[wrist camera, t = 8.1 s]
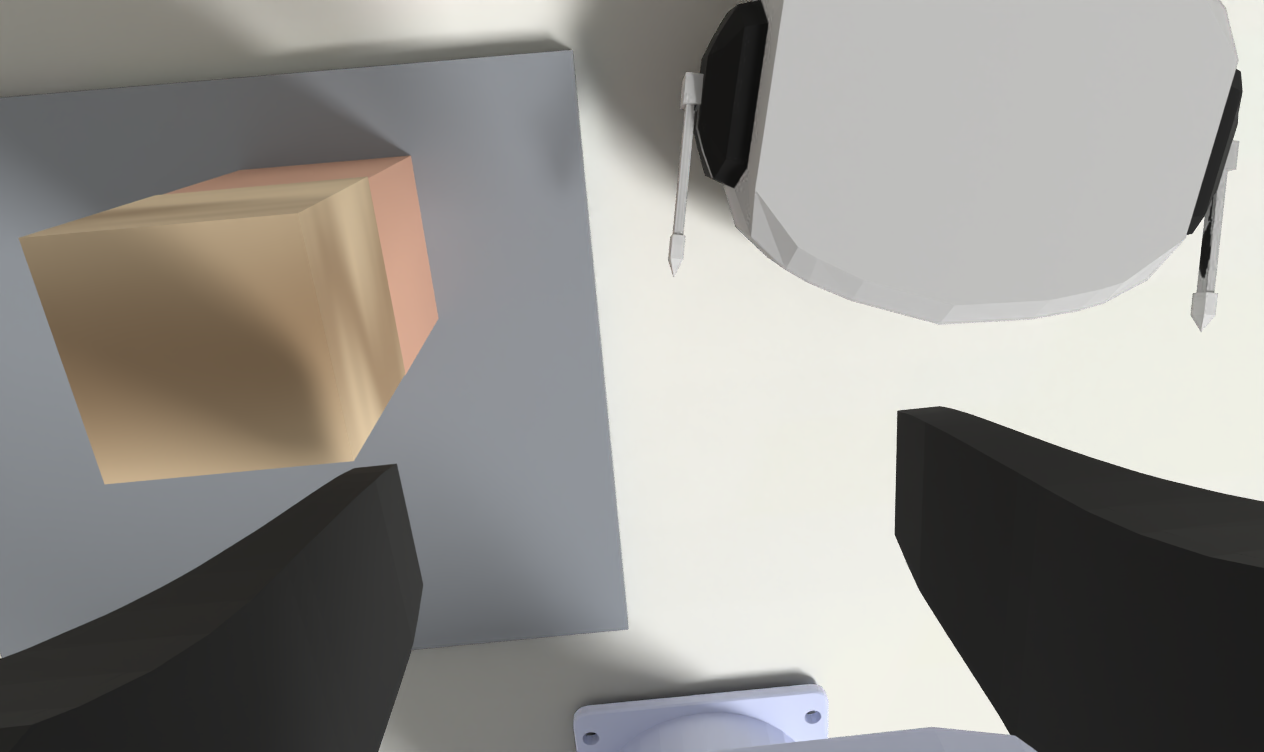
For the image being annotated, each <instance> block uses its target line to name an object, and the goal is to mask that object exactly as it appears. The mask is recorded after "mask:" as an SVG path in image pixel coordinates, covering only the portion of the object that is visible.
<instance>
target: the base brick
mask: <svg viewBox="0 0 1264 752" xmlns="http://www.w3.org/2000/svg"><path fill="white" fill-rule="evenodd" d="M357 177H368V181H369V186H370V191H371V196H372V202H373V207H374V212H375V217H376V223H377V228H378V233H379V238H380V243H381V249H382V254H383V259H384V264H385V270H386V275H387V280H388V285H389V290H390V296H391V301H392V306H393V311H394V316H395V322H396V327H397V332H398V337H399V343H400V348H401V353H402V358H403V363H404V369H405V375H406V373H407V372H408V370H409V368H410V366H411V365H412V363H413V361H414V360H415V358H416V356H417V354H418V353H419V351H420V349H421V348H422V346H423V344H424V343H425V341H426V339H427V337H428V336H429V334H430V332H431V331H432V329H433V327H434V325H435V324H436V322H437V320H438V319H439V318H438V312H437V307H436V301H435V295H434V289H433V283H432V277H431V271H430V265H429V259H428V254H427V248H426V242H425V236H424V230H423V224H422V218H421V212H420V206H419V200H418V195H417V189H416V183H415V177H414V171H413V165H412V159H411V156H399V157H388V158H376V159H364V160H353V161H341V162H329V163H317V164H306V165H294V166H282V167H271V168H259V169H247V170H238V171H235V172H232V173H229V174H226V175H223V176H219V177H216V178H213V179H210V180H207V181H204V182H200V183H197V184H194V185H191V186H188V187H185V188H181V189H178V190H175V191H172V192H169V193H166V194H175V193H186V192H198V191H209V190H220V189H232V188H243V187H255V186H266V185H277V184H289V183H300V182H311V181H323V180H334V179H345V178H357ZM162 195H164V194H162Z"/></svg>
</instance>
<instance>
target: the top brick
mask: <svg viewBox="0 0 1264 752" xmlns="http://www.w3.org/2000/svg"><path fill="white" fill-rule="evenodd" d="M19 241H20V244H21V247H22V250H23V253H24V255H25V258H26V261H27V264H28V267H29V270H30V273H31V275H32V278H33V281H34V284H35V287H36V290H37V293H38V295H39V298H40V301H41V304H42V307H43V310H44V313H45V315H46V318H47V321H48V324H49V327H50V330H51V333H52V335H53V338H54V341H55V344H56V347H57V350H58V353H59V355H60V358H61V361H62V364H63V367H64V370H65V373H66V375H67V378H68V381H69V384H70V387H71V390H72V393H73V395H74V398H75V401H76V404H77V407H78V410H79V413H80V415H81V418H82V421H83V424H84V427H85V430H86V433H87V435H88V438H89V441H90V444H91V447H92V450H93V453H94V455H95V458H96V461H97V464H98V467H99V470H100V473H101V475H102V478H103V481H104V484H114V483H125V482H135V481H146V480H157V479H168V478H178V477H189V476H200V475H211V474H221V473H232V472H243V471H253V470H264V469H275V468H286V467H296V466H307V465H318V464H328V463H339V462H350V461H354V460H355V458H356V457H357V455H358V453H359V452H360V450H361V448H362V446H363V445H364V443H365V441H366V440H367V438H368V436H369V435H370V433H371V431H372V429H373V428H374V426H375V424H376V423H377V421H378V419H379V418H380V416H381V414H382V412H383V411H384V409H385V407H386V406H387V404H388V402H389V401H390V399H391V397H392V395H393V394H394V392H395V390H396V389H397V387H398V385H399V384H400V382H401V380H402V378H403V377H404V375H405V369H404V363H403V358H402V353H401V348H400V343H399V337H398V332H397V327H396V322H395V316H394V311H393V306H392V301H391V296H390V290H389V285H388V280H387V275H386V270H385V264H384V259H383V254H382V249H381V243H380V238H379V233H378V228H377V223H376V217H375V212H374V207H373V202H372V196H371V191H370V186H369V181H368V177H357V178H345V179H334V180H323V181H311V182H300V183H289V184H277V185H266V186H255V187H243V188H232V189H220V190H209V191H198V192H186V193H175V194H164V195H154V196H151V197H148V198H145V199H142V200H138V201H135V202H132V203H129V204H126V205H122V206H119V207H116V208H113V209H110V210H106V211H103V212H100V213H97V214H93V215H90V216H87V217H84V218H81V219H77V220H74V221H71V222H68V223H65V224H61V225H58V226H55V227H52V228H49V229H45V230H42V231H39V232H36V233H33V234H29V235H26V236H23V237H20V238H19Z"/></svg>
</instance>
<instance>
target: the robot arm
mask: <svg viewBox="0 0 1264 752" xmlns="http://www.w3.org/2000/svg"><path fill="white" fill-rule="evenodd" d="M895 536H896V539H897V541H898V543H899V546H900V548H901V550H902V553H903V555H904V557H905V560H906V562H907V565H908V567H909V569H910V571H911V573H912V575H913V578H914V580H915V582H916V584H917V586H918V588H919V590H920V592H921V594H922V595H923V597H924V599H925V600H926V602H927V603H928V605H929V607H930V608H931V610H932V611H933V613H934V615H935V616H936V618H937V619H938V621H939V623H940V624H941V626H942V627H943V629H944V630H945V632H946V634H947V635H948V637H949V638H950V640H951V641H952V643H953V644H954V646H955V648H956V649H957V651H958V652H959V654H960V655H961V657H962V658H963V660H964V662H965V663H966V665H967V666H968V668H969V669H970V671H971V672H972V674H973V676H974V677H975V679H976V680H977V682H978V683H979V685H980V686H981V688H982V690H983V691H984V693H985V694H986V696H987V697H988V699H989V700H990V702H991V704H992V705H993V707H994V708H995V710H996V711H997V713H998V714H999V716H1000V718H1001V720H1002V721H1003V723H1004V725H1005V726H1006V728H1007V730H1008V732H1009V733H1010V735H1005V734H995V733H985V732H975V731H966V730H956V729H946V728H936V727H928V728H918V729H909V730H899V731H890V732H881V733H872V734H863V735H854V736H845V737H836V738H828V698H827V695H826V693H825V690H824V689H823V688H822V687H821V686H819V685H816V684H805V685H795V686H784V687H774V688H764V689H753V690H743V691H732V692H722V693H712V694H701V695H691V696H681V697H670V698H660V699H650V700H639V701H629V702H619V703H608V704H598V705H588V706H584V707H581V708H580V709H578V710H577V711H576V713H575V714H574V721H573V728H574V735H575V743H576V750H577V752H1264V502H1263V501H1257V500H1252V499H1247V498H1242V497H1237V496H1232V495H1228V494H1223V493H1218V492H1214V491H1210V490H1206V489H1202V488H1198V487H1193V486H1189V485H1185V484H1181V483H1177V482H1173V481H1169V480H1164V479H1161V478H1157V477H1153V476H1150V475H1146V474H1143V473H1139V472H1136V471H1132V470H1129V469H1126V468H1123V467H1120V466H1116V465H1113V464H1110V463H1107V462H1104V461H1101V460H1097V459H1094V458H1091V457H1088V456H1085V455H1082V454H1079V453H1076V452H1073V451H1071V450H1068V449H1065V448H1062V447H1059V446H1056V445H1054V444H1051V443H1048V442H1045V441H1043V440H1040V439H1037V438H1034V437H1032V436H1029V435H1026V434H1024V433H1021V432H1018V431H1015V430H1013V429H1010V428H1007V427H1005V426H1002V425H999V424H997V423H994V422H991V421H988V420H986V419H983V418H980V417H977V416H974V415H971V414H968V413H965V412H962V411H958V410H955V409H951V408H946V407H941V406H938V407H928V408H919V409H909V410H900V411H897V455H896V499H895ZM422 590H423V581H422V576H421V571H420V567H419V562H418V558H417V553H416V549H415V544H414V539H413V535H412V530H411V526H410V521H409V516H408V512H407V507H406V503H405V498H404V494H403V489H402V484H401V480H400V475H399V471H398V466H397V464H388V465H378V466H369V467H359V468H353V469H351V470H349V471H347V472H345V473H343V474H341V475H339V476H338V477H336V478H334V479H333V480H331V481H330V482H328V483H326V484H325V485H323V486H322V487H320V488H319V489H317V490H316V491H314V492H313V493H311V494H310V495H308V496H307V497H305V498H304V499H302V500H301V501H299V502H298V503H296V504H295V505H293V506H292V507H290V508H289V509H287V510H286V511H284V512H283V513H281V514H280V515H279V516H277V517H276V518H274V519H273V520H271V521H270V522H268V523H267V524H265V525H264V526H262V527H261V528H259V529H258V530H256V531H255V532H253V533H251V534H250V535H248V536H246V537H245V538H243V539H242V540H240V541H238V542H237V543H235V544H234V545H232V546H230V547H229V548H227V549H226V550H224V551H222V552H221V553H219V554H218V555H216V556H214V557H213V558H211V559H209V560H208V561H206V562H205V563H203V564H201V565H200V566H198V567H196V568H195V569H193V570H191V571H189V572H188V573H186V574H184V575H182V576H181V577H179V578H177V579H175V580H173V581H171V582H170V583H168V584H166V585H164V586H162V587H160V588H158V589H156V590H155V591H153V592H151V593H149V594H147V595H145V596H143V597H141V598H139V599H137V600H135V601H133V602H131V603H129V604H127V605H125V606H123V607H121V608H119V609H117V610H115V611H113V612H110V613H108V614H106V615H104V616H102V617H99V618H97V619H95V620H92V621H90V622H88V623H85V624H83V625H81V626H78V627H76V628H74V629H71V630H69V631H67V632H65V633H62V634H60V635H58V636H55V637H53V638H51V639H48V640H46V641H44V642H41V643H39V644H37V645H34V646H32V647H30V648H27V649H25V650H22V651H20V652H17V653H15V654H12V655H9V656H7V657H4V658H1V659H0V752H378V750H379V747H380V744H381V741H382V738H383V735H384V732H385V729H386V726H387V723H388V720H389V718H390V715H391V712H392V709H393V706H394V703H395V700H396V697H397V694H398V691H399V687H400V684H401V681H402V678H403V675H404V672H405V669H406V666H407V663H408V660H409V656H410V653H411V650H412V647H413V643H414V638H415V632H416V627H417V622H418V616H419V610H420V603H421V597H422ZM813 710H814V711H816V712H815V713H813V714H807V713H808V712H810V711H813ZM589 732H594V733H596V735H592V736H590V735H586V733H589Z"/></svg>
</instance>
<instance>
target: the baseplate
mask: <svg viewBox="0 0 1264 752" xmlns="http://www.w3.org/2000/svg"><path fill="white" fill-rule="evenodd" d="M399 156H411V159H412V165H413V171H414V177H415V183H416V189H417V195H418V200H419V206H420V212H421V218H422V224H423V230H424V236H425V242H426V248H427V254H428V259H429V265H430V271H431V277H432V283H433V289H434V295H435V301H436V307H437V312H438V318H439V319H438V320H437V322H436V324H435V325H434V327H433V329H432V331H431V332H430V334H429V336H428V337H427V339H426V341H425V343H424V344H423V346H422V348H421V349H420V351H419V353H418V354H417V356H416V358H415V360H414V361H413V363H412V365H411V366H410V368H409V370H408V372H407V373H406V375H404V377H403V378H402V380H401V382H400V384H399V385H398V387H397V389H396V390H395V392H394V394H393V395H392V397H391V399H390V401H389V402H388V404H387V406H386V407H385V409H384V411H383V412H382V414H381V416H380V418H379V419H378V421H377V423H376V424H375V426H374V428H373V429H372V431H371V433H370V435H369V436H368V438H367V440H366V441H365V443H364V445H363V446H362V448H361V450H360V452H359V453H358V455H357V457H356V458H355V460H354V461H350V462H339V463H328V464H318V465H307V466H296V467H286V468H275V469H264V470H253V471H243V472H232V473H221V474H211V475H200V476H189V477H178V478H168V479H157V480H146V481H135V482H125V483H114V484H104V481H103V478H102V475H101V473H100V470H99V467H98V464H97V461H96V458H95V455H94V453H93V450H92V447H91V444H90V441H89V438H88V435H87V433H86V430H85V427H84V424H83V421H82V418H81V415H80V413H79V410H78V407H77V404H76V401H75V398H74V395H73V393H72V390H71V387H70V384H69V381H68V378H67V375H66V373H65V370H64V367H63V364H62V361H61V358H60V355H59V353H58V350H57V347H56V344H55V341H54V338H53V335H52V333H51V330H50V327H49V324H48V321H47V318H46V315H45V313H44V310H43V307H42V304H41V301H40V298H39V295H38V293H37V290H36V287H35V284H34V281H33V278H32V275H31V273H30V270H29V267H28V264H27V261H26V258H25V255H24V253H23V250H22V247H21V244H20V241H19V238H20V237H23V236H26V235H29V234H33V233H36V232H39V231H42V230H45V229H49V228H52V227H55V226H58V225H61V224H65V223H68V222H71V221H74V220H77V219H81V218H84V217H87V216H90V215H93V214H97V213H100V212H103V211H106V210H110V209H113V208H116V207H119V206H122V205H126V204H129V203H132V202H135V201H138V200H142V199H145V198H148V197H151V196H154V195H162V194H166V193H169V192H172V191H175V190H178V189H181V188H185V187H188V186H191V185H194V184H197V183H200V182H204V181H207V180H210V179H213V178H216V177H219V176H223V175H226V174H229V173H232V172H235V171H238V170H247V169H259V168H271V167H282V166H294V165H306V164H317V163H329V162H341V161H353V160H364V159H376V158H388V157H399ZM388 464H397V466H398V471H399V475H400V480H401V484H402V489H403V494H404V498H405V503H406V507H407V512H408V516H409V521H410V526H411V530H412V535H413V539H414V544H415V549H416V553H417V558H418V562H419V567H420V571H421V576H422V581H423V590H422V597H421V603H420V610H419V616H418V622H417V627H416V632H415V638H414V643H413V647H412V650H417V649H427V648H438V647H448V646H459V645H469V644H480V643H490V642H501V641H511V640H522V639H533V638H543V637H554V636H564V635H575V634H585V633H596V632H606V631H617V630H627V629H628V615H627V605H626V595H625V584H624V574H623V564H622V553H621V543H620V533H619V522H618V512H617V502H616V492H615V481H614V471H613V461H612V450H611V440H610V430H609V419H608V409H607V399H606V388H605V378H604V368H603V357H602V347H601V337H600V326H599V316H598V306H597V295H596V285H595V275H594V265H593V254H592V244H591V234H590V223H589V213H588V203H587V192H586V182H585V172H584V161H583V151H582V141H581V130H580V120H579V110H578V99H577V89H576V79H575V68H574V58H573V50H564V51H552V52H540V53H528V54H516V55H504V56H492V57H480V58H468V59H456V60H444V61H432V62H420V63H408V64H397V65H385V66H373V67H361V68H349V69H337V70H325V71H313V72H301V73H289V74H277V75H265V76H253V77H241V78H229V79H217V80H206V81H194V82H182V83H170V84H158V85H146V86H134V87H122V88H110V89H98V90H86V91H74V92H62V93H50V94H38V95H27V96H15V97H3V98H0V654H1V656H2V658H4V657H7V656H9V655H12V654H15V653H17V652H20V651H22V650H25V649H27V648H30V647H32V646H34V645H37V644H39V643H41V642H44V641H46V640H48V639H51V638H53V637H55V636H58V635H60V634H62V633H65V632H67V631H69V630H71V629H74V628H76V627H78V626H81V625H83V624H85V623H88V622H90V621H92V620H95V619H97V618H99V617H102V616H104V615H106V614H108V613H110V612H113V611H115V610H117V609H119V608H121V607H123V606H125V605H127V604H129V603H131V602H133V601H135V600H137V599H139V598H141V597H143V596H145V595H147V594H149V593H151V592H153V591H155V590H156V589H158V588H160V587H162V586H164V585H166V584H168V583H170V582H171V581H173V580H175V579H177V578H179V577H181V576H182V575H184V574H186V573H188V572H189V571H191V570H193V569H195V568H196V567H198V566H200V565H201V564H203V563H205V562H206V561H208V560H209V559H211V558H213V557H214V556H216V555H218V554H219V553H221V552H222V551H224V550H226V549H227V548H229V547H230V546H232V545H234V544H235V543H237V542H238V541H240V540H242V539H243V538H245V537H246V536H248V535H250V534H251V533H253V532H255V531H256V530H258V529H259V528H261V527H262V526H264V525H265V524H267V523H268V522H270V521H271V520H273V519H274V518H276V517H277V516H279V515H280V514H281V513H283V512H284V511H286V510H287V509H289V508H290V507H292V506H293V505H295V504H296V503H298V502H299V501H301V500H302V499H304V498H305V497H307V496H308V495H310V494H311V493H313V492H314V491H316V490H317V489H319V488H320V487H322V486H323V485H325V484H326V483H328V482H330V481H331V480H333V479H334V478H336V477H338V476H339V475H341V474H343V473H345V472H347V471H349V470H351V469H353V468H359V467H369V466H378V465H388Z"/></svg>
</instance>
